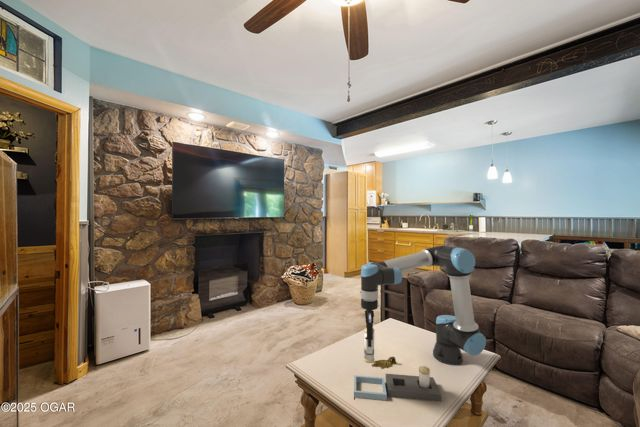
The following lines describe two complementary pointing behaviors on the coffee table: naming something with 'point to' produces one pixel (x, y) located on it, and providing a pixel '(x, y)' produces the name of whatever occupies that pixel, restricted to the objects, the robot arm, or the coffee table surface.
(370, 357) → the cylinder
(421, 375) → the fuse
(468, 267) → the robot arm
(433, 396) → the fuse holder
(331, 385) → the coffee table surface
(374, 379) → the parts tray
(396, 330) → the coffee table surface
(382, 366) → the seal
